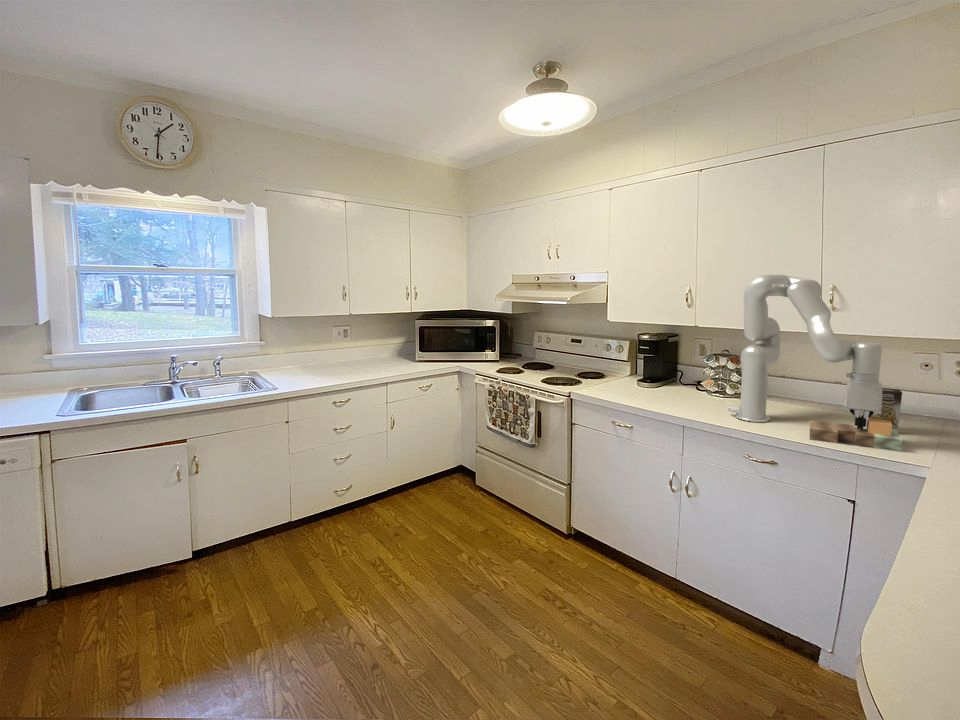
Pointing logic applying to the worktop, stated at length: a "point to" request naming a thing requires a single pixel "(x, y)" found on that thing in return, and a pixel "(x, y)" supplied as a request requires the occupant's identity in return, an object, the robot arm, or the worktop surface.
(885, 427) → the orange block
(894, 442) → the board
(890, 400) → the coffee box
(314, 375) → the worktop surface
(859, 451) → the worktop surface
